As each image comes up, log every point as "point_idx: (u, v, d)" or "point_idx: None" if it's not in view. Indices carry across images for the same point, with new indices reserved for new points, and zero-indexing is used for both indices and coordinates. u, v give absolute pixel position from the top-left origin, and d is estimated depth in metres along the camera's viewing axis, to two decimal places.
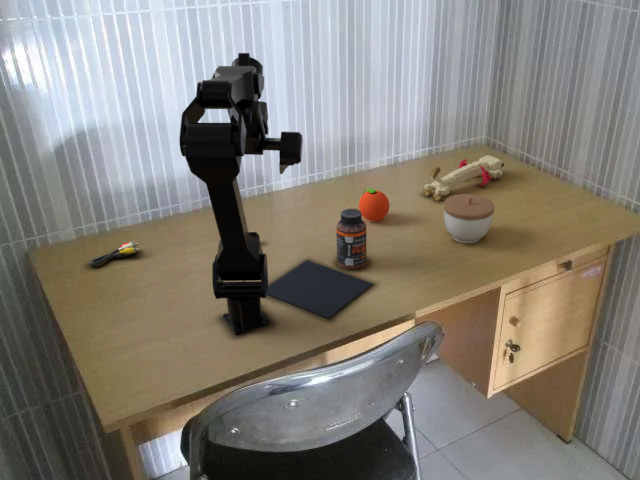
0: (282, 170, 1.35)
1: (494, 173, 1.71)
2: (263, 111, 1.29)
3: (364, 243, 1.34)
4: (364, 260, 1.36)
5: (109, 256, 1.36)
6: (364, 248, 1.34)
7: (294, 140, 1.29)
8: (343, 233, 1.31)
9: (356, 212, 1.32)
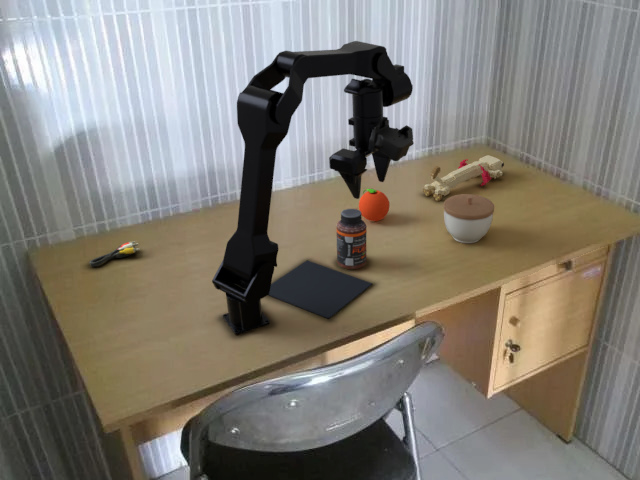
0: None
1: (494, 173, 1.71)
2: (384, 138, 1.25)
3: (364, 243, 1.34)
4: (364, 260, 1.36)
5: (109, 256, 1.36)
6: (364, 248, 1.34)
7: (346, 155, 1.24)
8: (343, 233, 1.31)
9: (356, 212, 1.32)
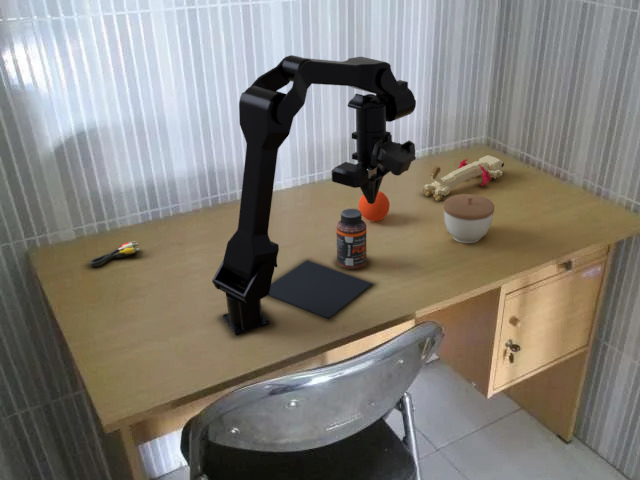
0: None
1: (494, 173, 1.71)
2: (387, 152, 1.26)
3: (364, 243, 1.34)
4: (364, 260, 1.36)
5: (109, 256, 1.36)
6: (364, 248, 1.34)
7: (348, 169, 1.25)
8: (343, 233, 1.31)
9: (356, 212, 1.32)
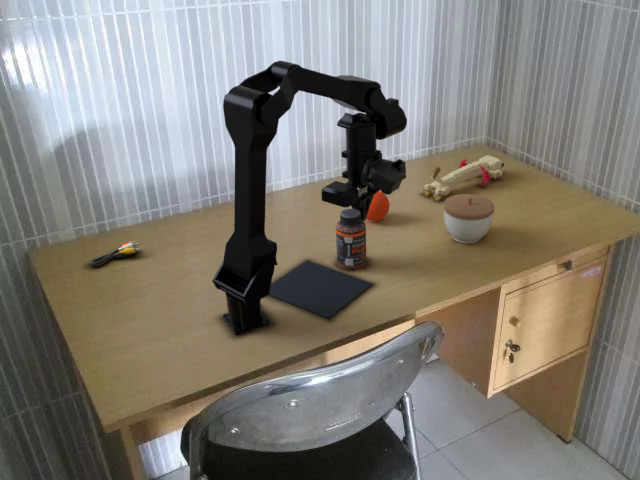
0: None
1: (494, 173, 1.71)
2: (377, 171, 1.25)
3: (364, 243, 1.34)
4: (364, 260, 1.36)
5: (109, 256, 1.36)
6: (364, 248, 1.34)
7: (337, 188, 1.24)
8: (342, 233, 1.31)
9: (355, 212, 1.31)
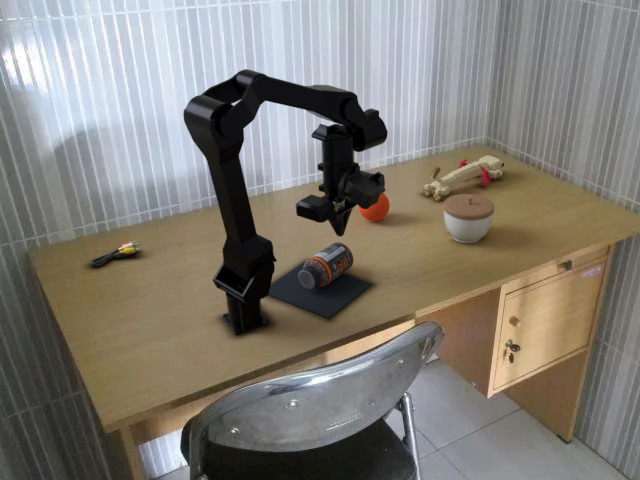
0: None
1: (494, 173, 1.71)
2: (354, 185, 1.20)
3: (338, 269, 1.29)
4: (350, 260, 1.31)
5: (109, 256, 1.36)
6: (341, 266, 1.29)
7: (313, 203, 1.19)
8: None
9: (308, 277, 1.25)
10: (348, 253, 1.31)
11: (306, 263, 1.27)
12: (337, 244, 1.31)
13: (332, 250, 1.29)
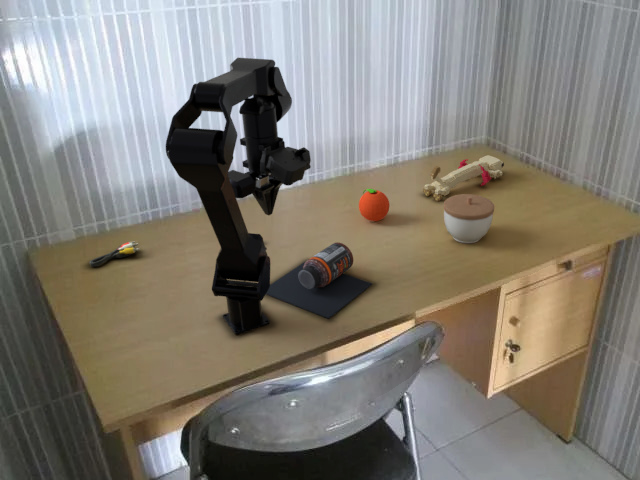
0: None
1: (494, 173, 1.71)
2: (275, 160, 1.16)
3: (338, 269, 1.29)
4: (350, 260, 1.31)
5: (109, 256, 1.36)
6: (341, 266, 1.29)
7: (231, 178, 1.15)
8: None
9: (308, 277, 1.25)
10: (348, 253, 1.31)
11: (306, 263, 1.27)
12: (337, 244, 1.31)
13: (332, 251, 1.29)
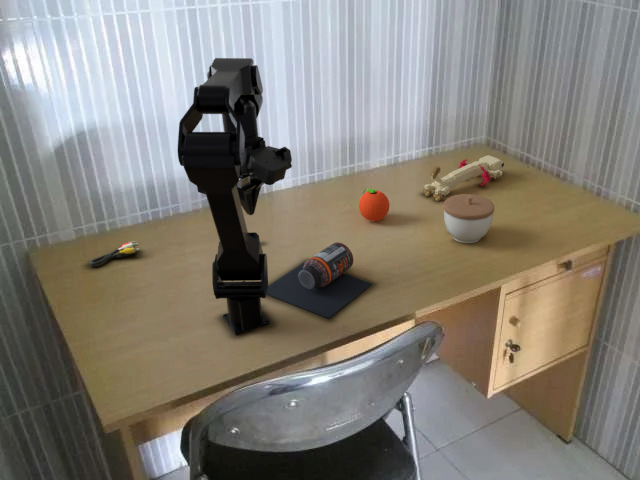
0: None
1: (494, 173, 1.71)
2: (256, 160, 1.16)
3: (338, 269, 1.29)
4: (350, 260, 1.31)
5: (109, 256, 1.36)
6: (341, 266, 1.29)
7: None
8: None
9: (308, 277, 1.25)
10: (348, 253, 1.31)
11: (306, 263, 1.27)
12: (337, 244, 1.31)
13: (332, 251, 1.29)
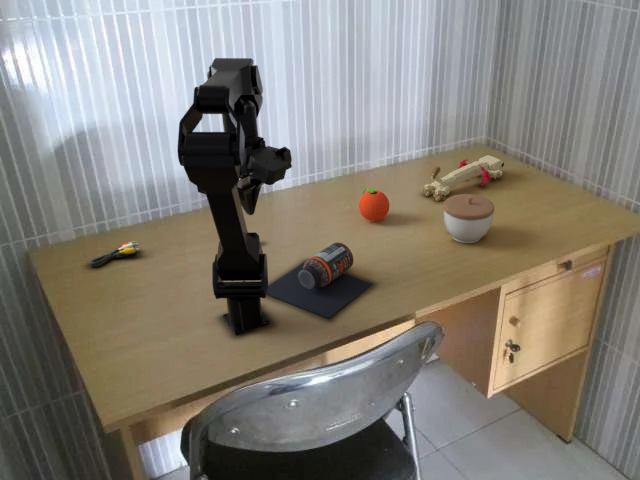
0: None
1: (494, 173, 1.71)
2: (256, 160, 1.16)
3: (338, 269, 1.29)
4: (350, 260, 1.31)
5: (109, 256, 1.36)
6: (341, 266, 1.29)
7: None
8: None
9: (308, 277, 1.25)
10: (348, 253, 1.31)
11: (306, 263, 1.27)
12: (337, 244, 1.31)
13: (332, 251, 1.29)
